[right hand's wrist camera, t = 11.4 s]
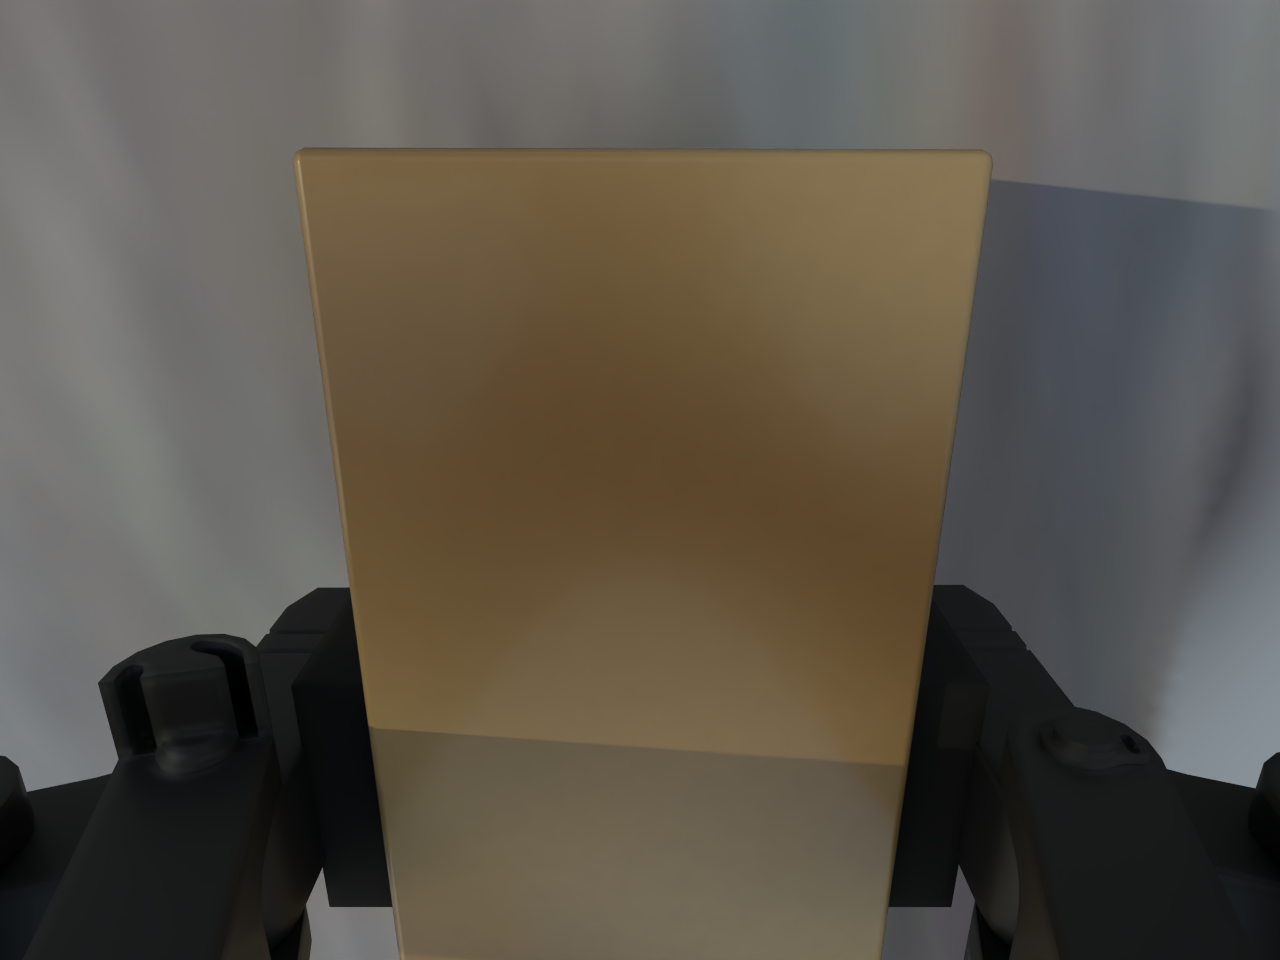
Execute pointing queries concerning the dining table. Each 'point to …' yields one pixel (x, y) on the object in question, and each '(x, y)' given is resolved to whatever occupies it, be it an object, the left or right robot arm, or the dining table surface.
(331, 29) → the dining table surface
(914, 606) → the bar
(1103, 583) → the dining table surface
